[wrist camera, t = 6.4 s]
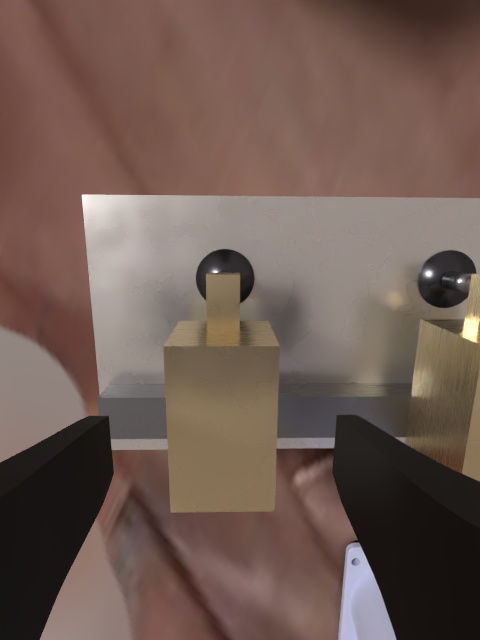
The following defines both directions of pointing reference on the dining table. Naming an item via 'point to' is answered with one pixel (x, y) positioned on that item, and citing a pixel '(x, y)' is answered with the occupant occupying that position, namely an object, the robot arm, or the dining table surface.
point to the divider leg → (222, 407)
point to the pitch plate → (299, 310)
